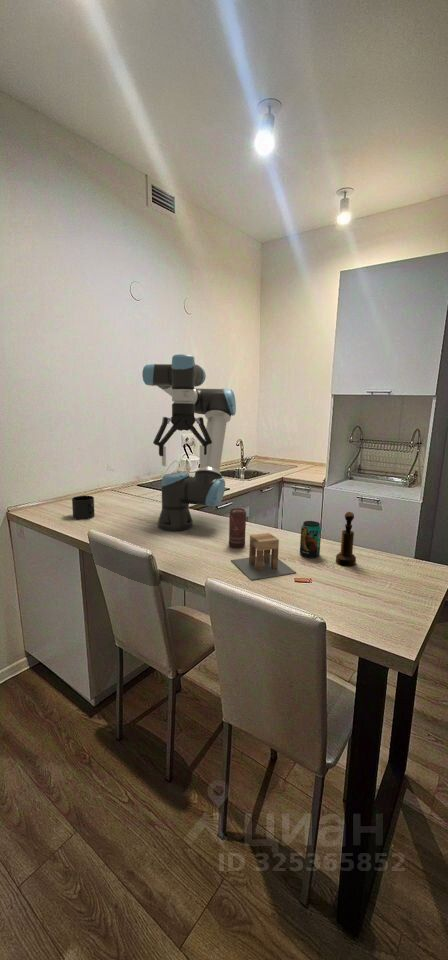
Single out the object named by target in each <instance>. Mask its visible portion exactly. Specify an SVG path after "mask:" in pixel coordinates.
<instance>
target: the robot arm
mask: <svg viewBox="0 0 448 960" xmlns="http://www.w3.org/2000/svg"><path fill="white" fill-rule="evenodd" d="M195 362H196V361H195V357H194V355H191V354H182V353H181V354H174V355H172V358H171V363H170V364H169V363H166V364H165V363H159V364H157V363H150V364H146V365H144V366H143V368H142V373H141V374H142V375H141V376H142V381H143V382H144V384H145V385H147V386H149V387H154V386H155V387H156V386H157V387H158V388H159V389H161V390H162V391H163V392H165V393H166V394H168V396H170V397H171V401H172V402H173V403H172V404H171V417H167V416H162V419H161V420H162V422H161V424H160V427H159V430H158V432H157V433H156V435H155V437H154V440H153V443H152V444H154V446H157V447H158V455H159V457H161V466H162V467H166V466H167V453H166V452H167V447H166V446H165V445H166V443H167V442H168V441H169V439H171V438H172V437H173V434H175V432H177V431H179V432H180V431H190V432H191V433H192V434H193V435H194V436H195V438H196V439H197V440H198V441H199V443H200V444H201V445H199V469H197V470H196V471H195V474H194V476H190V473H189V472H186V471H185V472H184V471H180V472H173V473H167V474H165V475H162V477H161V478H162V479H161V486H160V487H161V511H160V513H159V516H158V519H157V527H158V528H159V529H161V530H163V531H169V532H179V531H185V530H189V529H191V528H193V526H194V520H193V517H192V514H191V511H190V505H195V506H196V505H199V506H207V507H210V506H213V507H215V506H216V507H217V506H219V505H220V503H221V502H222V501H223V498H224V495H225V491H226V480H225V479H224V478H223V475H222V474H221V472H220V470H221V469H220V468H221V464H222V455H223V449H224V443H225V435H226V430H227V423H228V422H230V421H231V417H233V416H235V415H236V412H237V404H236V395H235V393H234V391H233V390H232V389H229V388H195V387H199V386H201V385H203V384H204V383H205V381H206V378H207V376H206V371H205V369H204V368H203V367H202V366H200V365H199V364H196V363H195ZM195 414H197V415H203V416H204V417H205V419H207V422H206V426H205V424H204V417H202V416H199V417H195ZM170 422H171V424H172V426H171V427H170V429H169V430H168V431H167V433H166V434H165V435H164V433H165V430H166V428H167V426H168V424H170ZM195 423H196V424H198V427H199V429H200V431H201V434H202V435H203V436H202V435H201V434H200V433H199V432H198V430H197V429H196V428H195V426H194V424H195ZM163 435H164V436H163ZM162 436H163V438H162ZM203 437H204V438H203ZM161 438H162V439H161Z"/></svg>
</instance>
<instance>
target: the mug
mask: <svg viewBox="0 0 448 960" xmlns="http://www.w3.org/2000/svg"><path fill="white" fill-rule="evenodd" d="M71 504H72V505H71V506H72V518H73V519H74V518H76V519H75V520H79V519H84V520H89V519H88V518H90V519H92V517H93V518H94V517H95V515H96V514H95V497H94V496H93V495H92V496H91V495H79V496H78V495H77V496H74V497H72V498H71Z"/></svg>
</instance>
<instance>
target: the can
mask: <svg viewBox="0 0 448 960" xmlns="http://www.w3.org/2000/svg"><path fill="white" fill-rule="evenodd" d="M228 521H229V524H228V525H229V526H228V528H229V531H228V545H229V547H230V548H233V549H241V548H244V547H245V545H246V528H247V527H246V526H247V511H246V510H245V509H244V508H243V509H242V508H231V509H230V511H229V520H228Z"/></svg>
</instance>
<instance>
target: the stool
mask: <svg viewBox="0 0 448 960" xmlns="http://www.w3.org/2000/svg"><path fill="white" fill-rule="evenodd" d="M279 543H280V539H279V538H278V537H276V536H274V535H273V534H271V533H270V532H265V533H264V532H262V533H255V534H250V535H249V553H248V555H249V556H248V558H249V564H250V565H255V561H256V570H257V571H263V561H264V562H265V563H269V562H270V555H271V568H272V569H277V568H278V559H279V545H280V544H279ZM263 556H264V559H263Z"/></svg>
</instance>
